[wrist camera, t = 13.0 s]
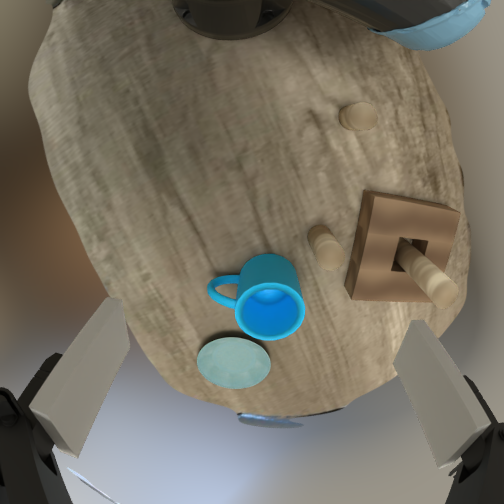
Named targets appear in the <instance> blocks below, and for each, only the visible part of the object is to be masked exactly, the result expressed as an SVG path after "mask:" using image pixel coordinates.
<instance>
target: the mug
mask: <svg viewBox="0 0 504 504" xmlns="http://www.w3.org/2000/svg"><path fill="white" fill-rule="evenodd" d="M231 283H236V284H238V288H237V296H236V299H231V298H229V297H226V296H223V295H221V294H220V293H218V292H217V291H216V290H215V287H217V286H219V285H223V284H231ZM207 290H208V294H209V296H210V297H211V298H212V299H213V300H214V301H216V302H218V303H219V304H221V305H224V306H226V307H229V308H233V309H235V318H236V321H237V323H238V325H239V327H240V328H241V329H242V330H243V331H244V332H245V333H246V334H248V335H250V336H252V337H254V338H257V339H261V340H278V339H281V338H285V337H287V336H289V335H290V334H292V333H294V332H295V331H296V330H297V329H298V328H299V327H300V325H301V323H302V321H303V319H304V317H305V305H304V301H303V297H302V293H301V289H300V285H299V281H298V277H297V274H296V270H295V268H294V267H293V265H292V264H291V263H290V261H288V260H287V259H285V258H284V257H282V256H279V255H275V254H262V255H258V256H255V257H253V258H252V259H250V260H249V261H247V262H246V264H245V265H244V266H243V268H242V269H241V272H240V275H225V276H220V277H217V278H215V279H213V280H211V281H210V283H209V284H208V285H207Z"/></svg>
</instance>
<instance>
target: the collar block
mask: <svg viewBox="0 0 504 504" xmlns="http://www.w3.org/2000/svg"><path fill="white" fill-rule="evenodd" d="M460 214H461V213H460V212H458V211H456V210H454V209H452V208H450V207H448V206H446V205H443V204H438V203H433V202H428V201H423V200H418V199H413V198H408V197H403V196H397V195H392V194H386V193H380V192H374V191H368V190H364V192H363V198H362V203H361V209H360V215H359V220H358V225H357V230H356V235H355V240H354V245H353V250H352V254H351V259H350V263H349V268H348V272H347V276H346V281H345V285H344V286H345V288H346V290H347V292H348V294H349V296H350V298H351V300H365V301H392V302H433V301H432V300H431V299H430V298H429V297H428V296H427V294H426V293H425V292H424V291H423V290H422V289H421V288H420V287H419V285H418V284H417V283H416V282H415V281H414V280H413V279H412V278H411V277H410V276H409V274H408V273H407V272H406V271H405V270H404V269H403V268H402V267H401V266H400V265H399V264H398V263H397V262H396V261H395V260H394V257H395V253H396V249H397V245H398V241H399V237H404V238H412V239H413V243H412V245H413V246H414V247H415V248H416V249H417V250H418V251H420V252H421V253H422V254H423V255H424V256H425V257H427V258H428V259H429V260H430V261H431V262H432V263H433V264H434V265H436V266H437V267H438V268H439V269H440V270H441V271H442V272H443V273H444V271H445V268H446V265H447V262H448V259H449V255H450V252H451V248H452V245H453V241H454V238H455V234H456V230H457V226H458V222H459V218H460Z"/></svg>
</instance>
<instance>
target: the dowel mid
mask: <svg viewBox="0 0 504 504" xmlns="http://www.w3.org/2000/svg"><path fill="white" fill-rule="evenodd" d="M308 241H309V243H310V246H311V248H312V250H313V252H314V255H315V257H316V259H317V262H318V264H319V266H320V267H321V268H323V269H324V270H328V271H331V270H335V269H337V268H339V267H340V266H341V265H342V264H343V262H344V260H345V252H344V250H343V249H342V247H341V246H340V244H339V243H338V241H337V240H336V238H335V237H334V236H333V234H332V233H331V231H330V230H329V229H328V228H327V227H326V226H324V225H317V226H314V227H313V228H311V230H310V231H309V233H308Z"/></svg>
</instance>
